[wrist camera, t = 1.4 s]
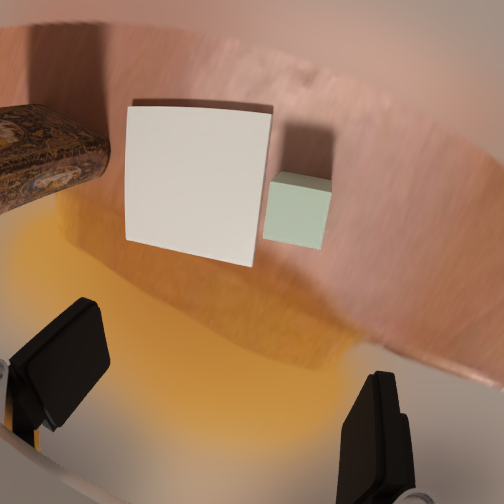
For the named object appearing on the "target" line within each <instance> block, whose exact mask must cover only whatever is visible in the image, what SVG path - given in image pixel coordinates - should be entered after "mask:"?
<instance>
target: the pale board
mask: <svg viewBox="0 0 504 504" xmlns="http://www.w3.org/2000/svg"><path fill="white" fill-rule="evenodd" d="M272 121H273V114H266V113H257V112H248V111H238V110H226V109H212V108H195V107H164V106H132V107H128V114H127V129H126V151H125V227H126V240H131V241H135V242H139V243H144V244H148V245H153V246H157V247H161V248H166V249H170V250H175V251H179V252H184V253H188V254H193V255H197V256H202V257H207V258H211V259H216V260H220V261H225V262H230V263H234V264H239V265H244V266H248V267H252V266H253V264H254V260H255V252H256V245H257V237H258V229H259V222H260V214H261V206H262V199H263V191H264V183H265V175H266V168H267V160H268V152H269V144H270V136H271V128H272Z"/></svg>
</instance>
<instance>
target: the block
mask: <svg viewBox="0 0 504 504" xmlns="http://www.w3.org/2000/svg"><path fill="white" fill-rule="evenodd" d="M331 193H332V184H331V180H328V179H323V178H318V177H312V176H307V175H301V174H296V173H290V172H284V171H281V172H280V173H279V174H278V175H276V176H275V177H274V178H273V179H272V180H271V181H270V188H269V195H268V203H267V210H266V217H265V225H264V232H263V238H264V239H269V240H274V241H279V242H284V243H289V244H294V245H299V246H304V247H309V248H314V249H319V250H320V248H321V244H322V239H323V234H324V229H325V224H326V219H327V214H328V209H329V204H330V199H331Z"/></svg>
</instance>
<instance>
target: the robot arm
mask: <svg viewBox="0 0 504 504" xmlns="http://www.w3.org/2000/svg"><path fill="white" fill-rule="evenodd" d="M9 361H10V365H9V366H8V365H7V363H6V362H5V361H4V360H2V359H0V504H130V503H128V502H125V501H123V500H121V499H119V498H117V497H115V496H113V495H111V494H109V493H107V492H105V491H103V490H101V489H99V488H97V487H96V486H94V485H92V484H90V483H88V482H87V481H85V480H83V479H81V478H80V477H78V476H76V475H74V474H73V473H71V472H69V471H68V470H66V469H64V468H63V467H61V466H60V465H58V464H56V463H55V462H53V461H52V460H50V459H49V458H47V457H46V456H44V455H43V454H42V453H41V452H40V440H39V426H40V425H41V424H43V425H44V426H45V427H46V428H48V429H50V430H51V431H53V432H54V431H55V430H56V428H57V427H61V426H62V425H63V424H64V423H65V421H66V420H67V419H68V418H69V417H70V415H71V414H72V413H73V411H74V410H75V409H76V408H77V406H78V405H79V404H80V403H81V401H82V400H83V399H84V398H85V396H86V395H87V394H88V393H89V391H90V390H91V389H92V388H93V387H94V385H95V384H96V383H97V382H98V380H99V379H100V378H101V377H102V375H103V374H104V373H105V372H106V370H107V369H108V368H109V366H110V357H109V352H108V348H107V342H106V338H105V333H104V327H103V322H102V316H101V311H100V308H99V307H98V305H97V303H96V302H95V301H92V300H90V299H87V298H84V297H81V298H79V299H78V300H77V301H76V302H74V303H73V304H72V305H71V306H70V307H68V308H67V309H66V310H65V311H64V312H62V313H61V314H60V315H59V316H58V317H57V318H55V319H54V320H53V321H52V322H51V323H49V324H48V325H47V326H46V327H45V328H44V329H43V330H41V331H40V332H39V333H38V334H37V335H36V336H35V337H33V338H32V339H31V340H30V341H29V342H28V343H27V344H26V345H24V347H22V348H21V349H20V350H19V351H18V352H17V353H16V354H15V355H13V356H12V357H11V358H10V359H9ZM336 504H439V502H438V500H437V498H436V496H435V495H434V494H432V492H430V491H428V490H426V489H422V488H416V486H415V473H414V462H413V452H412V443H411V436H410V428H409V421H408V417H407V415H406V414H404V413H400V407H399V400H398V394H397V387H396V381H395V376H394V373H391V372H383V371H376V372H375V373H374V375H373V374H370V375H369V376H368V377H367V379H366V381H365V383H364V385H363V387H362V389H361V391H360V393H359V395H358V397H357V399H356V401H355V403H354V405H353V407H352V409H351V411H350V412H349V414H348V416H347V418H346V419H345V421H344V423H343V426H342V430H341V446H340V462H339V475H338V486H337V496H336Z"/></svg>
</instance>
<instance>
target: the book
mask: <svg viewBox="0 0 504 504" xmlns="http://www.w3.org/2000/svg"><path fill="white" fill-rule="evenodd" d="M110 153H111V148H110V143H109V140H108V139H107V138H105V137H103V136H101V135H99V134H98V133H96V132H94V131H92V130H90V129H88V128H86V127H84V126H82V125H80V124H78V123H77V122H75V121H73V120H71V119H69V118H67V117H65V116H63V115H61V114H59V113H57V112H55V111H53V110H51V109H49V108H47V107H45V106H43V105H39V104H29V105H19V106H10V107H2V108H0V214H3V213H5V212H7V211H10V210H12V209H14V208H17V207H19V206H22V205H24V204H26V203H29V202H32V201H34V200H37V199H39V198H42V197H44V196H47V195H50V194H52V193H55V192H58V191H60V190H63V189H66V188H69V187H72V186H75V185H77V184H80V183H83V182H86V181H89V180H92V179H95V178H98V177H100V176H101V175H102V174H103V173H104V172H105V170H106V168H107V166H108V163H109V160H110Z"/></svg>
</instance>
